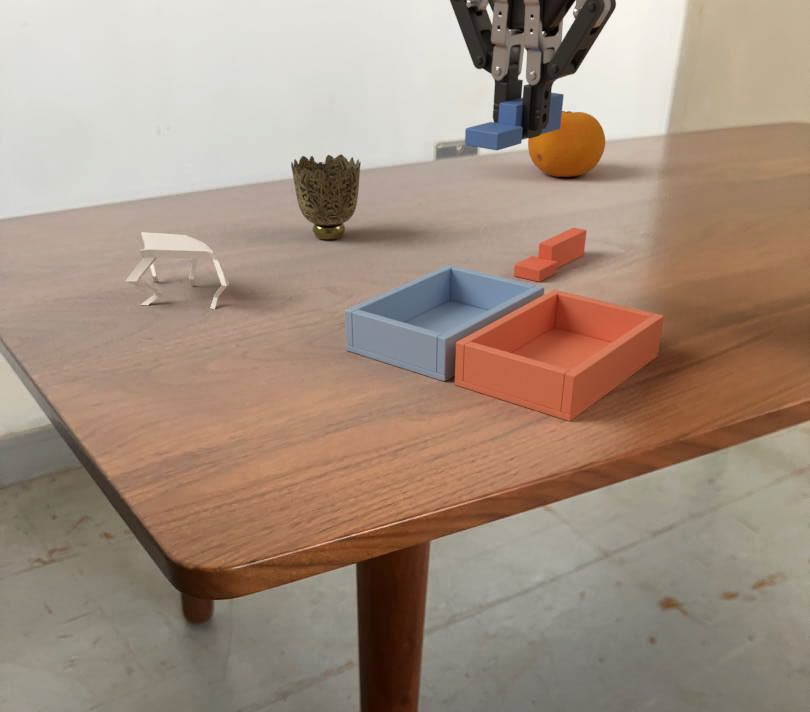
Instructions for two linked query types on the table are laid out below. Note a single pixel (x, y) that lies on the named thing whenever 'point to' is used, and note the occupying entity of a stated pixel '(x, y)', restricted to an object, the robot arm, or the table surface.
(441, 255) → the table surface
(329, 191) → the cup
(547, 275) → the salmon l-shaped block
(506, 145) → the blue stepped bar
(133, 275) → the origami figure
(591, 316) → the coral bin
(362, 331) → the blue bin
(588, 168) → the fruit
